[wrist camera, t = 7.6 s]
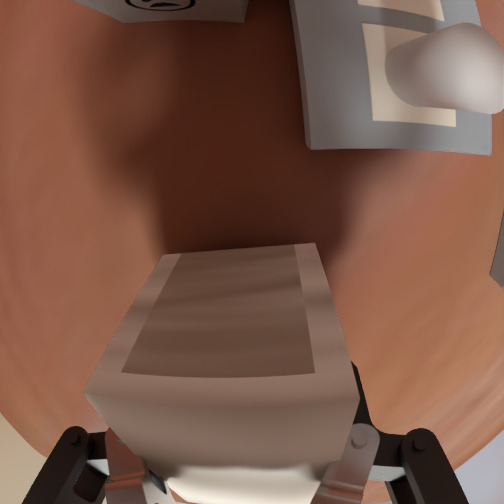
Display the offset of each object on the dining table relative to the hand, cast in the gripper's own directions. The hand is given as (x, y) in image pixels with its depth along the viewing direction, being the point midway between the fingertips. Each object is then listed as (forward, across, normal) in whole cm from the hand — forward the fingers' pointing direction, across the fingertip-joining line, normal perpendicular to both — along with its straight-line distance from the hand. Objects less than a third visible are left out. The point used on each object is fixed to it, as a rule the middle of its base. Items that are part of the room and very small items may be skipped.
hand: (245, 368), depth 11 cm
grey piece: (+3, -7, -13) cm, 15 cm away
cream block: (+2, 0, 0) cm, 2 cm away
